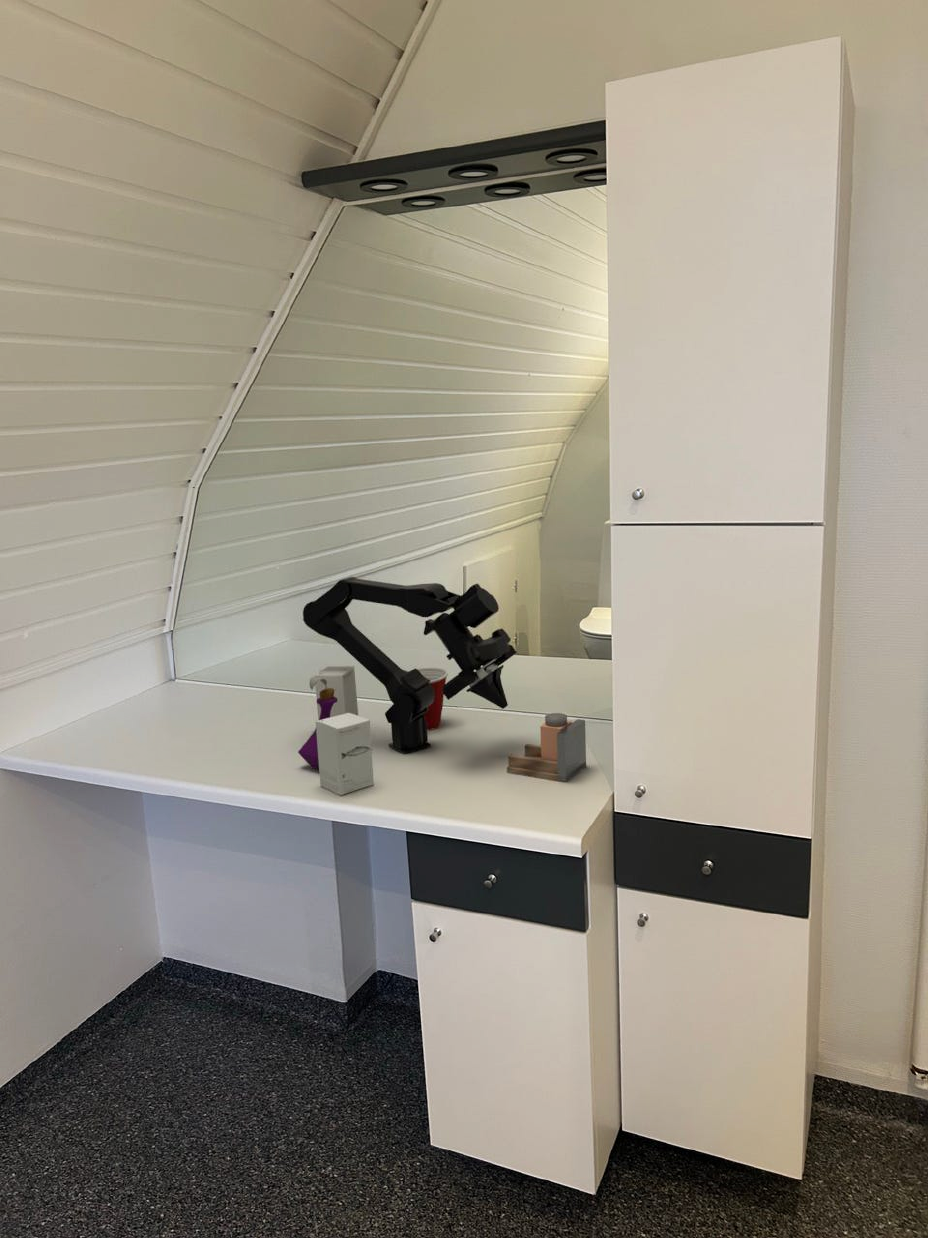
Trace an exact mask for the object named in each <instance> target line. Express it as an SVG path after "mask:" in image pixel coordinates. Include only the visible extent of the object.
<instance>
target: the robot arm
mask: <svg viewBox="0 0 928 1238" xmlns="http://www.w3.org/2000/svg"><path fill="white" fill-rule="evenodd" d="M354 600H355V601H360V602H361V601H362V602H369V603H375V604H381V605H387V606H393V607H398V608H401V609H403V610H404V611H406V612H407V613H410V614H412V615H415V616H418V617H420V618H430V617H432V616H434V615H437V614H440V613H441V614H440V615H438V616H437V617H436V618H434V619H431V618H430V619H428V620H425V621H424V624H425V625H424V630H423V635H424V636H427V635H430V634H431V633H435V635H436V636H437V637H438V639H439V640H440V641H441V643H442V645H443V646H444V647H445V649H446V650H447V651H448V654H447V655H446V658H447V660H448V661H450V660H452V659H453V660H454V662H455V663H456V665H457V666H458V668H459V669H460V672H458V674H457V675H456V676H454V677H453V678H451V679H450V680H449V681H446V682H445V685H443V693H444V696H445V698H446V699H447V700H448V701H449V700H450V699H452V698H453V697H455V696H456V695H458V694H459V693H460V692H462V691H463V690H464V689H465V688H467V687H468V686H469V688H467V689H466V690H465V692H467V693H469V692H470V693H473V694H475V695H477V696H479V697H481V698H483V699H484V700H487V701H488V702H490V703H491V704H493V705H495V706H496V707H499V708H500V709H505V708H507V707H508V700H507V697H506V694H505V691H504V688H503V684H502V679H501V675H502V671H503V668H504V664H503V663H505V662H507V661H508V660H509V659H511V658H512V657H513V656H515V655H516V654H517V653H518V652H517V650H516V649H515V648H514V647H513V645H512V644H510V642H511V637H510V636H509V634H508V633H507V632H506V630H505V629H504V628H498V629H495V630H494V631H493V632H492V633H491V636H490V637H488V638H486V639H485V638H482V636H481V635H480V634H479V633H476V634H475V635H473V633H472V632H471V630H470V629H469V627H470V628H472V629H477V628H478V627H479V626H481V625H482V624H483V623H485V622H486V621H487V620H489V619H490V618H491V617H492V616H494V615H495V614H496V613H498V612H499V604H498V601H497V600H496V598H495V596H494V594H491V593H490V592H489V591H488V590H487V589H485V588H483V587H481V585H480V584H479V583H475V584H472V585H471V586H470V587H469V588H468V589H467V590H466V591H465V592H464V593H463V594H462V595H460V594H457V593H454V592H451V591H449V590H447V589H446V586H444V585H443V584H441V583H435V582H433V583H420V584H411V585H410V584H409V585H408V584H407V585H403V584H396V583H389V582H385V581H384V582H383V581H382V582H381V581H375V580H369V579H362V578H357V577H355V576H350V577H346V578H343V579H340V580H338V581H336V583H335V584H334V585H333V586H331V588H330V589H328V590H327V591H325V592H324V593H323V594H322V595H320V596H319V597H318V598H317V599H315V600H312V601H309V602H308V603H306V604H305V605H304V608H302V617H303V618H302V620H303V622H304V624H305V625H306V626H307V628H309V629H311V630H312V631H313V632H315V633H316V634H318V635H320V636H323V637H325V638H328V639H331V640H333V641H335V642H336V643H337V644H338V645H339V646H341V647H342V648H343V649H344V650H345V651H346V652H348V654H349V655H350V656H351V657H353V658H354V659H355V660H356V661H357V662H358V663H359V664H360V665H361V666H363V667H364V669H366V670H367V671H368V672H369V673H370V674H371V675H372V676H373V677H374V678H375V679H377V681H379V682H380V683H381V684H382V685H383V686H384V687H385V690H386V692H387V693H386V694H388V697H389V699H390V701H391V703H392V705H391V706H390V707H389V708H388V710H386V711H385V712H384V716H385V718H386V721H387V723H388V724H390V725H391V742H390V743H388V744H387V745H388V747H389V748H390V749H394V750H396V751H397V752H400V753H402V754H408V753H413V752H415V751H420V750H424V749H427V748H430V747H432V746H431V745H432V744H431V743H429V742H428V740H429V737H428V735H429V734H428V730H427V723H426V722H425V716H423V714H425V713H427V711H428V707H429V706H430V705H431V704H432V703H433V701H434V697H435V695H434V688H433V687H432V685H431V684H430V683H429V682H430V680H429V679H427V678H425V677H424V676H423V675H422V674H421V673H420V671H419V670H417V667H416V668H413V669H410V670H411V671H409V670H404V669H402V668H401V667H400V666H399V665H398V664H397V663H396V662H395V661H393V660H392V659H391V658H390V657H389V656H388V655H387V654H386V653H385V652H384V651H383V650H381V649H380V648H379V647H378V646H377V645H376V644H374V643H373V642H372V641H371V640H370V639H369V638H368V637H367V636H366V635H365V634H363V633H362V631H360V630H359V628H357V627H356V626H355V625H354V624H353V622H352V620H351V618H350V614H349V612H348V610H347V607H349V605H351V604H352V601H354ZM452 609H453V611H452V612H450V613H447V611H449V610H452ZM407 671H409V672H407Z"/></svg>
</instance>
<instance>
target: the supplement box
mask: <svg viewBox="0 0 928 1238" xmlns="http://www.w3.org/2000/svg"><path fill="white" fill-rule="evenodd" d="M315 729H316V733H317V746H318V760H319V769H318V771H319V785H320V786H321V787H323V788H325V789H327V790H328V791H331V792H333V793H334V794H336V795H339V796H343V795H345V794H348V793H351V792H355V791H358V790H361V789H364V788H367V787H372V786H374V783H375V782H374V781H375V780H374V766H373V752H372V750H373V749H372V736H371V735H372V733H371V721H370V719H368V718H366V717H362V716H360V715H358V716H357V715H354V714H351V713H346V714H342V715H338V716H334V717H330V718H326V719H322V720H316V721H315Z"/></svg>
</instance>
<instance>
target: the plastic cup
mask: <svg viewBox="0 0 928 1238" xmlns="http://www.w3.org/2000/svg"><path fill="white" fill-rule="evenodd" d="M416 669H417V670H419V671H420V673H421V674H422V675H423V676H424V677H425V678H427V679H429V680H430V682H429V683H430V684H431V685H432V687H433V688H434V695H435V697H434V701H433V703H432V704H431V705H430V706H429V707H428V711H427V713H425V714H423V716H425V722H426V723H427V731H430V730H435V729H437V728H439V727H440V726H441V721H442V720H441V719H442V714H443V713H442V712H443V707H444V698H445V697H444V696H445V695H444V693H443V685H445V684H446V683H447V677H448V676H449V672H448V670H447V669H446V668H443V667H437V666H428V667H427V666H426V667H420V668H417V667H416ZM411 670H412V669H409V670H406V671H407V672H409V671H411Z"/></svg>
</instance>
